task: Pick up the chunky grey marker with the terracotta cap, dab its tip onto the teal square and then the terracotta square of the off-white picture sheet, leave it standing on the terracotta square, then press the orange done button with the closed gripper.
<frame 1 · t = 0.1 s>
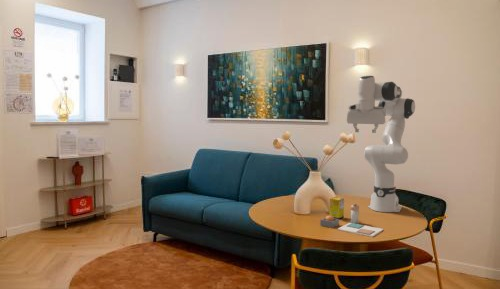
hand: (365, 132, 212), 48 cm above the table, tool pointing down, fingers open, 8 cm apart
button housing: (329, 225, 207), on the table
done button: (329, 219, 207), point 3 cm above the table, slide at 0.0 cm
marker: (354, 222, 212), on the table
picture sheet: (360, 230, 199), on the table
supplement box: (336, 217, 222), on the table
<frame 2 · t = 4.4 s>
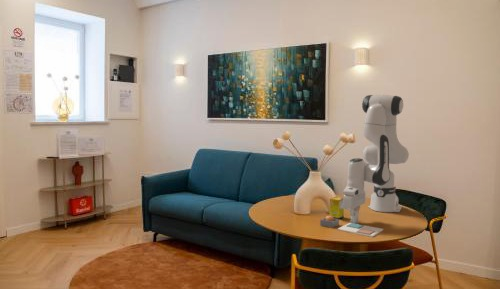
hand: (354, 214, 212), 4 cm above the table, tool pointing down, fingers closed on marker, 4 cm apart
marker: (354, 222, 212), on the table, touching gripper
everything else where it was.
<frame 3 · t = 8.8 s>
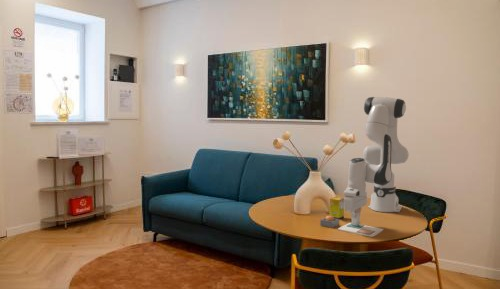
hand: (355, 217, 203), 5 cm above the table, tool pointing down, fingers closed on marker, 4 cm apart
marker: (355, 224, 203), point 1 cm above the table, touching gripper
everything else where it was.
when the fingers open (6 cm above the table, at t = 13.4 s): marker stays where it is, resting on picture sheet.
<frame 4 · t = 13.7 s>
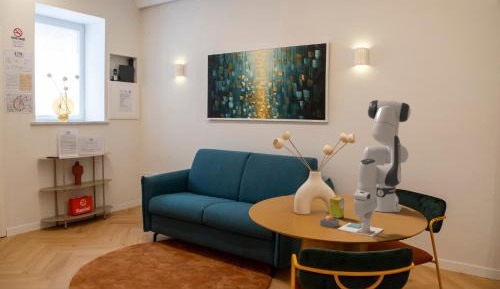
hand: (366, 221, 193), 6 cm above the table, tool pointing down, fingers open, 7 cm apart
marker: (365, 231, 194), point 1 cm above the table, touching picture sheet
everything else where it was.
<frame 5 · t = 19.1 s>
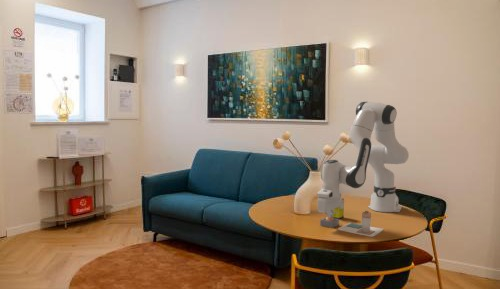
hand: (329, 217, 207), 4 cm above the table, tool pointing down, fingers closed, pressing on done button
done button: (329, 220, 207), point 2 cm above the table, slide at 0.6 cm, touching gripper
everything else where it was.
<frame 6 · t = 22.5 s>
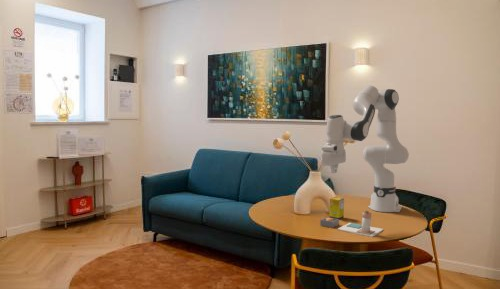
hand: (334, 172, 208), 27 cm above the table, tool pointing down, fingers closed
done button: (329, 221, 207), point 2 cm above the table, slide at 1.2 cm
everything else where it was.
at the end: marker inside the target area (0.1 cm from its centre), point 0.9 cm above the table; marker tilted 2°; done button slide at 1.2 cm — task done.
